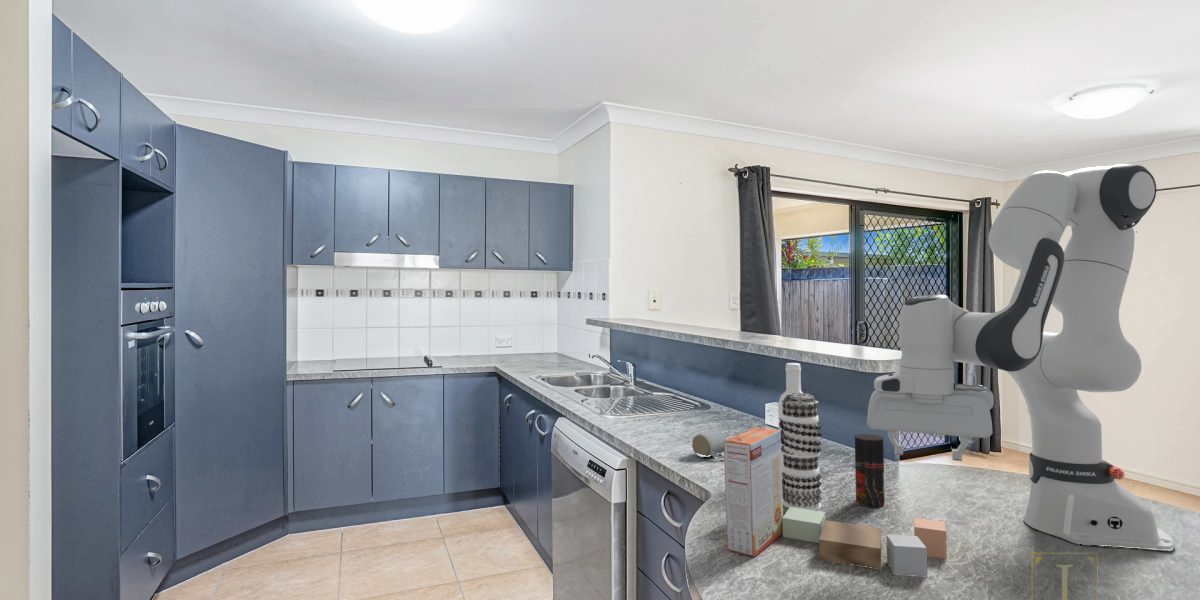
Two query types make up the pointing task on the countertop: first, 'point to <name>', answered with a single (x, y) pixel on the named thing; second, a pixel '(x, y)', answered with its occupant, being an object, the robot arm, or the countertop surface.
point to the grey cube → (906, 555)
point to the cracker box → (753, 490)
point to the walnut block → (850, 544)
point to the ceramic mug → (709, 443)
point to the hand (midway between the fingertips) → (927, 457)
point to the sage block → (803, 524)
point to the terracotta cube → (932, 536)
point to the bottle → (790, 390)
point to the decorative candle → (800, 452)
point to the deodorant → (869, 470)
